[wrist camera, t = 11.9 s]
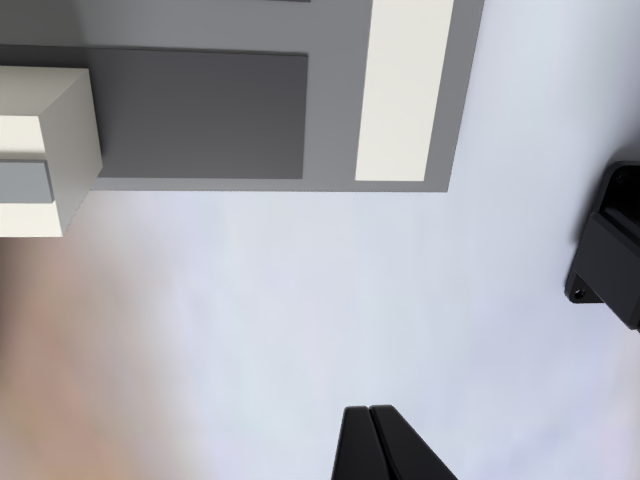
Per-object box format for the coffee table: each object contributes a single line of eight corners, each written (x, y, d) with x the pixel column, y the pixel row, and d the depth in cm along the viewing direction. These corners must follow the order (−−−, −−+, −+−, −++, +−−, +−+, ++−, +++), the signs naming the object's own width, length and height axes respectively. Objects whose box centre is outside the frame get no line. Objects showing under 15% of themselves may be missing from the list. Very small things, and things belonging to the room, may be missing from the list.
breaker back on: (88, 68, 16) (35, 119, 12) (102, 166, 17) (59, 240, 13) (-25, 64, 15) (-120, 116, 11) (0, 165, 17) (-76, 241, 13)
